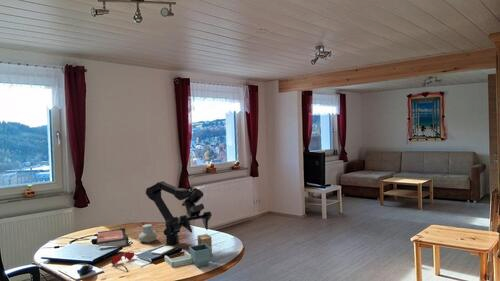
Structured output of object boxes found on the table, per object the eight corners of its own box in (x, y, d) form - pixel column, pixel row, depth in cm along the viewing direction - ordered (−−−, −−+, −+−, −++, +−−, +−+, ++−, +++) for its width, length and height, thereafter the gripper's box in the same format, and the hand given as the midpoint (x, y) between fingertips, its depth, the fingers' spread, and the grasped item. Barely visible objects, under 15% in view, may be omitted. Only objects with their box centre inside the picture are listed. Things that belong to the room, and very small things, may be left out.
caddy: (197, 255, 205) (197, 235, 205) (206, 253, 208) (206, 234, 207) (203, 259, 199) (202, 238, 198) (212, 257, 201) (211, 237, 201)
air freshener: (140, 244, 229) (139, 228, 229) (138, 241, 237) (137, 225, 237) (158, 241, 234) (157, 225, 234) (155, 238, 241) (155, 222, 241)
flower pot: (195, 269, 185) (194, 251, 185) (189, 264, 193) (188, 246, 192) (212, 265, 189) (211, 248, 189) (205, 260, 197) (205, 243, 197)
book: (96, 239, 246) (96, 231, 246) (125, 235, 253) (124, 227, 253) (97, 250, 222) (97, 242, 222) (128, 245, 229) (128, 237, 229)
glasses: (133, 258, 206) (133, 249, 205) (152, 264, 195) (151, 254, 195) (110, 266, 195) (109, 256, 195) (128, 273, 184) (127, 263, 184)
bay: (164, 260, 199) (164, 255, 199) (186, 255, 205) (186, 251, 205) (172, 267, 189) (172, 262, 189) (194, 262, 195) (194, 257, 195)
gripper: (178, 201, 208) (186, 225, 199) (209, 197, 217) (219, 220, 208) (174, 213, 215) (182, 237, 206) (204, 208, 224) (213, 231, 215)
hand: (199, 231), depth 208 cm, fingers open, 9 cm apart
